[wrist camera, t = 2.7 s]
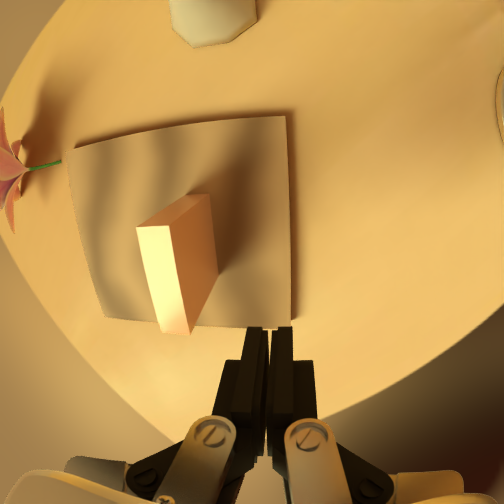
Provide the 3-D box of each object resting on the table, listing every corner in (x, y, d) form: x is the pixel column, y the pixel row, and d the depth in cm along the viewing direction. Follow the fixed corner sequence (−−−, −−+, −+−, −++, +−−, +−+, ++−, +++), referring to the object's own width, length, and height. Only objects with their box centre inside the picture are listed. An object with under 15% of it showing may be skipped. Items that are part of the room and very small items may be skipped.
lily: (48, 89, 21) (-29, 109, 14) (78, 133, 18) (-29, 165, 12) (44, 174, 29) (-18, 197, 22) (75, 233, 26) (-1, 267, 20)
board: (285, 116, 20) (285, 115, 19) (290, 321, 27) (290, 328, 26) (73, 150, 23) (65, 151, 21) (109, 311, 29) (104, 317, 28)
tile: (209, 193, 22) (168, 225, 14) (218, 275, 24) (190, 335, 17) (183, 195, 22) (133, 227, 15) (194, 275, 25) (159, 332, 17)
